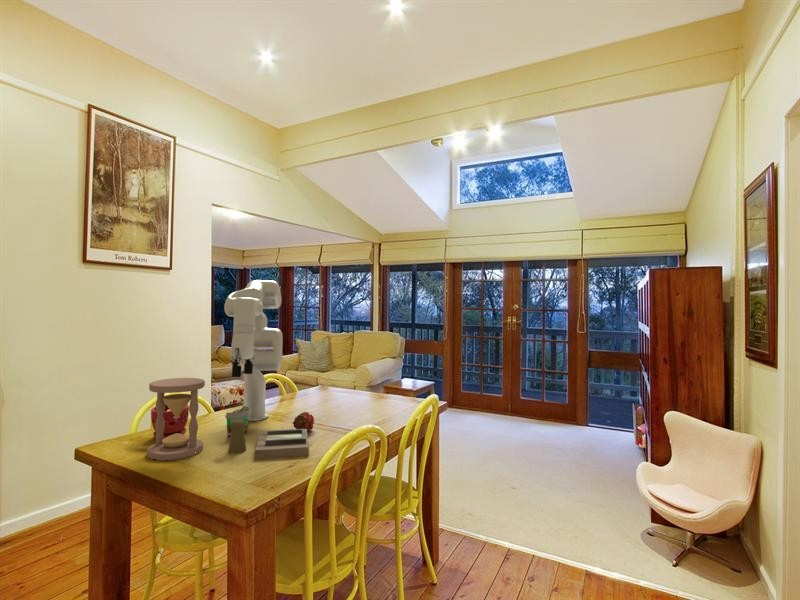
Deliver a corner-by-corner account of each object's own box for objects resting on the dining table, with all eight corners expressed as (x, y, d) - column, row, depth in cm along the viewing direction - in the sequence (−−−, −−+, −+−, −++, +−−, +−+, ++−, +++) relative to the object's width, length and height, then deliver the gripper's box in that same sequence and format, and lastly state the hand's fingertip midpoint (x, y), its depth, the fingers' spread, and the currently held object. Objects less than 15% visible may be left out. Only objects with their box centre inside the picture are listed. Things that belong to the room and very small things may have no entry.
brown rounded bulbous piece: (230, 454, 146) (231, 423, 146) (226, 449, 151) (227, 419, 151) (248, 451, 150) (248, 420, 150) (243, 446, 154) (244, 417, 155)
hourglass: (213, 447, 153) (215, 379, 153) (173, 464, 137) (175, 388, 137) (177, 441, 159) (179, 376, 159) (135, 456, 143) (137, 383, 143)
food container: (239, 439, 163) (239, 413, 163) (225, 438, 164) (225, 412, 164) (256, 430, 175) (256, 406, 175) (242, 429, 176) (243, 405, 176)
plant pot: (148, 435, 166) (149, 405, 166) (184, 429, 174) (185, 401, 174) (152, 444, 155) (153, 412, 156) (191, 437, 163) (191, 407, 163)
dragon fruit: (302, 439, 169) (301, 435, 180) (319, 425, 172) (317, 422, 183) (290, 422, 168) (289, 419, 180) (307, 409, 171) (305, 406, 182)
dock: (260, 438, 164) (260, 427, 164) (306, 436, 168) (306, 425, 168) (255, 459, 142) (255, 445, 142) (308, 455, 147) (308, 442, 147)
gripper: (244, 329, 166) (243, 372, 165) (223, 330, 149) (221, 378, 148) (262, 329, 165) (261, 372, 164) (243, 330, 148) (241, 378, 147)
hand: (242, 375), depth 156 cm, fingers open, 9 cm apart
